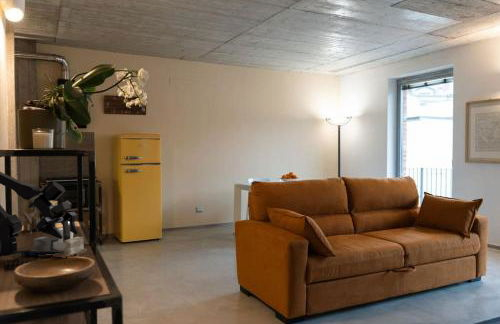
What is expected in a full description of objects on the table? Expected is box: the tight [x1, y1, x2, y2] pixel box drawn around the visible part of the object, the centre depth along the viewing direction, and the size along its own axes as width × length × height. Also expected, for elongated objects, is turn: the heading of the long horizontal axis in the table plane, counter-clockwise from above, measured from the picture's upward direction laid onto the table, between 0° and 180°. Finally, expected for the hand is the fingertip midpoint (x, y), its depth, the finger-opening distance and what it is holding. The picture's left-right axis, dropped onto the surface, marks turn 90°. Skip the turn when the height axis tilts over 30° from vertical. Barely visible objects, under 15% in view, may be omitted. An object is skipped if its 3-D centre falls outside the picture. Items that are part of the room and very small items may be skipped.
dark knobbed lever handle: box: [51, 221, 70, 250], centre depth 170 cm, size 15×3×11 cm, turn 75°
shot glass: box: [57, 227, 74, 241], centre depth 190 cm, size 7×7×7 cm
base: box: [30, 236, 88, 256], centre depth 170 cm, size 21×12×6 cm, turn 75°
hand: (69, 236), depth 169 cm, fingers open, 9 cm apart
